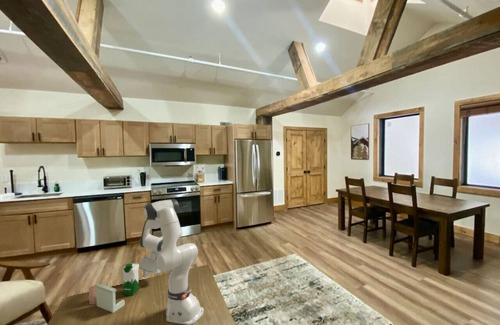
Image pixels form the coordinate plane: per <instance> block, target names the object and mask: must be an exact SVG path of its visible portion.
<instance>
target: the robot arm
mask: <svg viewBox="0 0 500 325" xmlns="http://www.w3.org/2000/svg"><path fill="white" fill-rule="evenodd" d="M179 211H180V205H179V202H178V200H177V199H175V198H171V199H170V198H169V199H164V200H159V201H155V202H152V203H148V204H146V205H145V206H144V208H143V215H144V217H145V218H146V220H145V221H144V224H143V227H142V231H141V236H140V239H139V241H138V242H139V246H140V247H141V248H143V249H148V250H151V251H150V252H149V255H148V256H146V255H145V256H143V257H142V258H141V259H140V260H139V262H138V263H137V264H139V269H138V270H143V271H142V275H141V277H142V278H145V279H147V277H148V276H149V275H150V274H151V273H154V274H160V273H161V272H166V271H171V270H172V271H171V272H170V273H169V276H168V279H167V281H168V282H167V284H168V285H167V286H168V289H167V297H168V298H167V299H168V300H167V307H166V311H165V316H166V322H168V323H169V322H170V323H173V324H174V323H175V324H181V325H193V324H194V323H196V322H197V321H198V320H200V318H201V317H202V316H203V314H204V312H205V308H204V307H202V306H201V305H200V304H201V303H200V301H199V300H198V298H197V297H196V296H194V295H193V293H191V292H192V288H190V287H189V272H190V269H191V266H192V264H193V263H194V261H195V260H196V258H197V257H198V255H199V249H198V247H197V245H196V244H195V243H193V242H189V243H184V244H181V245H178V246H177V242H178V240H180V238H181V237H182V235H183V234H182V233H183V231H182V229H181V224H180V220H179V218H178V215H177V214H178V213H179ZM159 228H160V230H161V235H162V236H155V235H154V234H151V232H150V231H151V229H154V230H156V229H157V230H158V229H159Z"/></svg>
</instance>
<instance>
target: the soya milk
mask: <svg viewBox="0 0 500 325" xmlns="http://www.w3.org/2000/svg"><path fill="white" fill-rule="evenodd" d="M139 270H140V269H139V264H138V263H129V262H128V263H127V264H125V266H123V268H121V271H122V285H123V286H122V288H123V289H122V290H123V291H122V295H124V296H134V295H135V294H136V293H137V292H138V291H139V290H140V285H139V284H140V283H139Z"/></svg>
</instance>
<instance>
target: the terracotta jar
mask: <svg viewBox="0 0 500 325" xmlns="http://www.w3.org/2000/svg"><path fill="white" fill-rule="evenodd" d="M96 285H97V284H95V285H91V286H90V287H89V288H88V301H89V305H97V298H96Z"/></svg>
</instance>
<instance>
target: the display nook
mask: <svg viewBox="0 0 500 325" xmlns="http://www.w3.org/2000/svg"><path fill="white" fill-rule="evenodd" d="M95 285H96V298H97V303H96V307H98V308H100V309H103V310H106V311H107V312H111V313H113V314H114V313H115V312H116V311H118V310H120V309H121V308H123V307H124V306H125V300H124V299H122V300H120V301H119V302H117V303H116V292H117V288H114V287H111V286H109V285H105V284H102V283H98V284H95Z"/></svg>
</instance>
